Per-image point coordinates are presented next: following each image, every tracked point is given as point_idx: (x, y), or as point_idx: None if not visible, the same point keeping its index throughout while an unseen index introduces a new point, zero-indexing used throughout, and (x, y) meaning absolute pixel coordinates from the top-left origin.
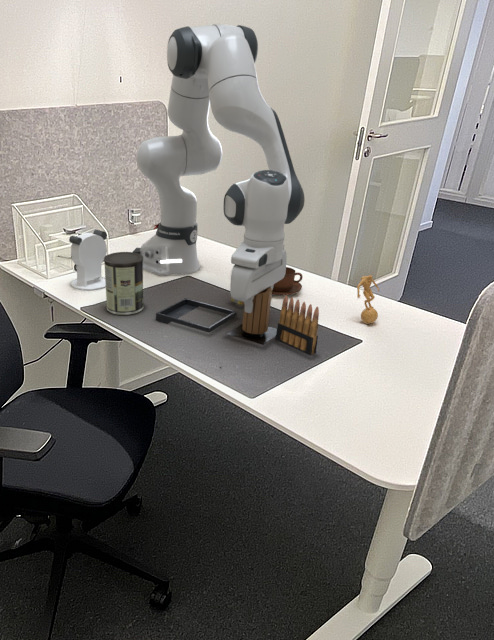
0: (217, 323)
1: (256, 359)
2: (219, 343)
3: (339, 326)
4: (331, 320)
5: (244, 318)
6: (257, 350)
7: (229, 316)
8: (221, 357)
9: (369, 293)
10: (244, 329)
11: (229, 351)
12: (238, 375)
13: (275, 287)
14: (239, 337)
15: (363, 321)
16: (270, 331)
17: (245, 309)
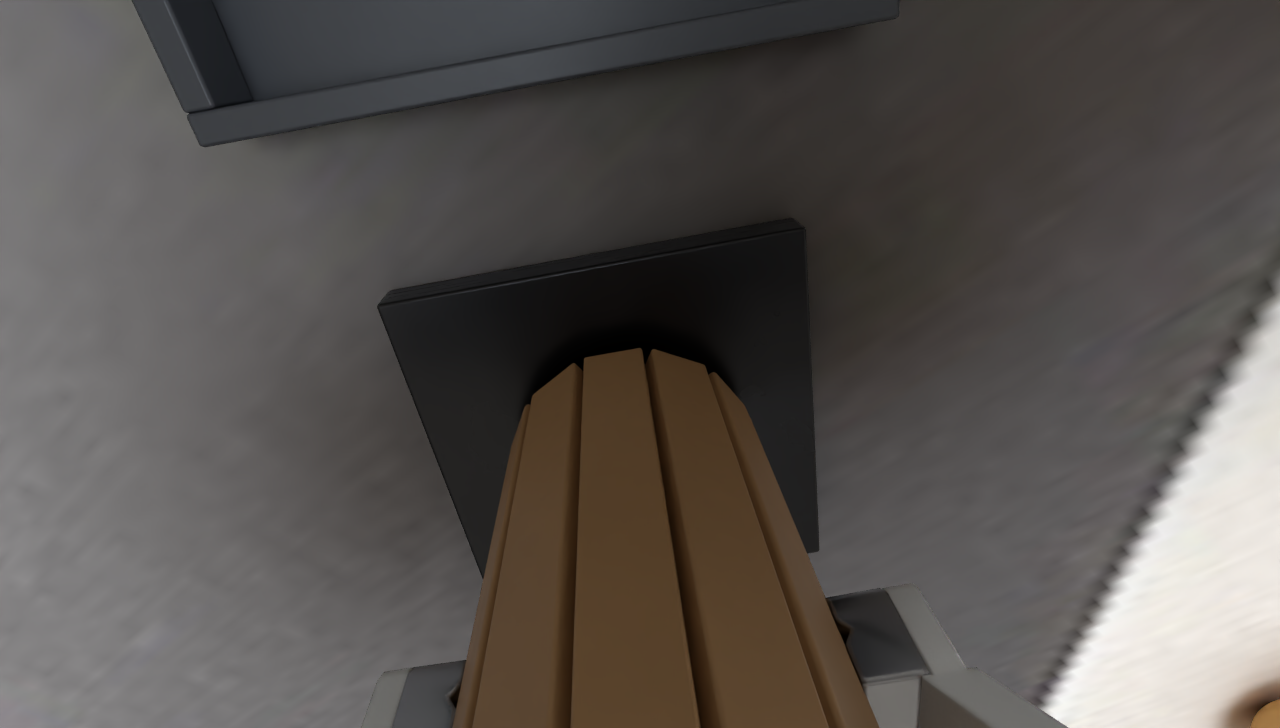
0: (401, 110)
1: (341, 642)
2: (253, 330)
3: (1147, 653)
4: (1232, 584)
5: (505, 501)
6: (446, 577)
7: (703, 52)
8: (114, 503)
9: None
10: (512, 443)
11: (240, 477)
12: (88, 699)
13: None
14: (431, 433)
15: (1261, 717)
16: None
17: (378, 705)
